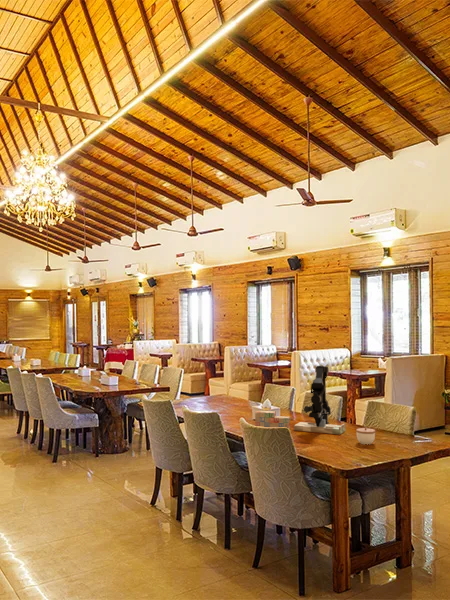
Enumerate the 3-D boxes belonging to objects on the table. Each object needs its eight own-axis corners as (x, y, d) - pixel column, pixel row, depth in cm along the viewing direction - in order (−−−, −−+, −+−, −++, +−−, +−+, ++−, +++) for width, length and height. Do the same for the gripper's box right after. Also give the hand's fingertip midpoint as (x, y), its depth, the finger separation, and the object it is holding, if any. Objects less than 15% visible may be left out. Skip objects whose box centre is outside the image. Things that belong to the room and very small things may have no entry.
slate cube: (319, 425, 358) (319, 419, 358) (325, 426, 356) (325, 419, 356) (317, 426, 354) (317, 420, 355) (323, 427, 353) (323, 420, 353)
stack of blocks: (289, 431, 355) (289, 411, 356) (288, 433, 349) (288, 413, 350) (257, 429, 361) (257, 410, 361) (255, 431, 355) (255, 411, 355)
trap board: (300, 426, 370) (300, 419, 370) (345, 430, 357) (345, 423, 357) (293, 430, 358) (293, 423, 358) (340, 434, 345) (340, 427, 345)
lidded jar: (362, 446, 315) (361, 429, 315) (352, 441, 325) (352, 425, 325) (378, 445, 318) (378, 428, 318) (369, 440, 328) (369, 424, 328)
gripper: (309, 398, 364) (309, 423, 364) (300, 403, 348) (300, 428, 347) (326, 400, 360) (326, 424, 359) (318, 404, 343) (318, 429, 342)
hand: (317, 426), depth 352 cm, fingers closed
